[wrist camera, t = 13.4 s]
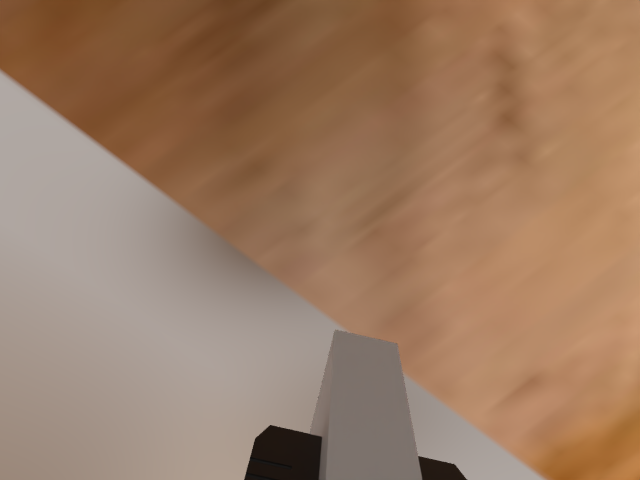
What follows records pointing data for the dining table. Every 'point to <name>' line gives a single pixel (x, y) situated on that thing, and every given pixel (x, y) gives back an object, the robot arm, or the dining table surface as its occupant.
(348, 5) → the dining table surface
